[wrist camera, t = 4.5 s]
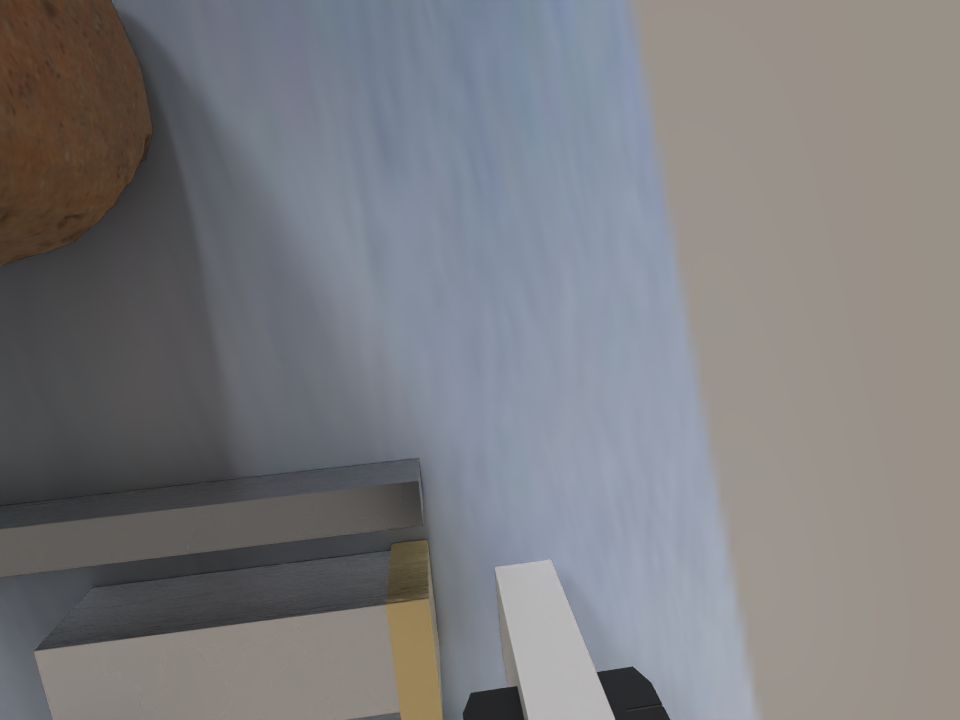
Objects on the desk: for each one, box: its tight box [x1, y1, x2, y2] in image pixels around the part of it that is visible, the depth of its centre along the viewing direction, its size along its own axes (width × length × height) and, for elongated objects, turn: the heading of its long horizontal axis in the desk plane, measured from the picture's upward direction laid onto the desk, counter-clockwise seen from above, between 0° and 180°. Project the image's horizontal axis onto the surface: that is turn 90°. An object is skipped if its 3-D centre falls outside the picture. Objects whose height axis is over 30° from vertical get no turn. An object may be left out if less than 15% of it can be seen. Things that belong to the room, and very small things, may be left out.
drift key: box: [34, 539, 443, 720], centre depth 15 cm, size 3×9×3 cm, turn 95°
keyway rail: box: [0, 458, 423, 577], centre depth 15 cm, size 1×15×2 cm, turn 95°
